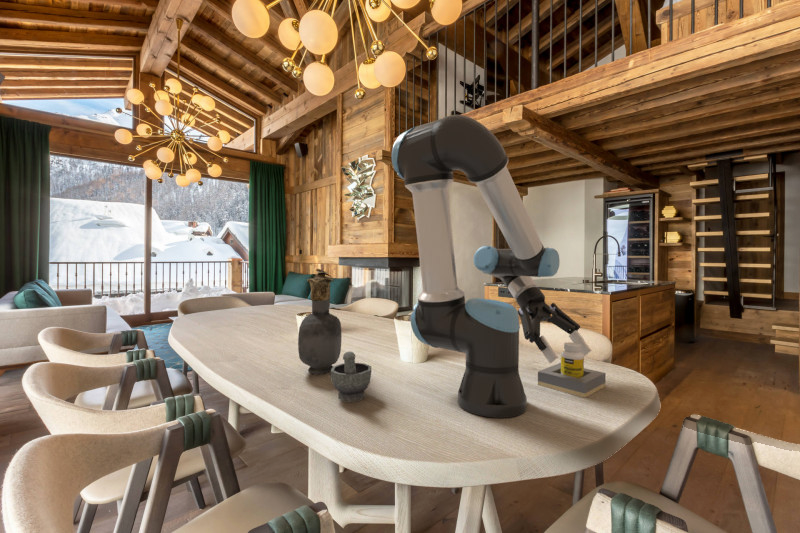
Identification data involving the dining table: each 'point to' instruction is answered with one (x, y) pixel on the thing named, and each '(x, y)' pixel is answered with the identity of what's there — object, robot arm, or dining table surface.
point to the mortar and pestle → (351, 378)
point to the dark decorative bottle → (320, 329)
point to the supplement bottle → (572, 360)
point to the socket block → (571, 381)
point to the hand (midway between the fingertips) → (571, 356)
